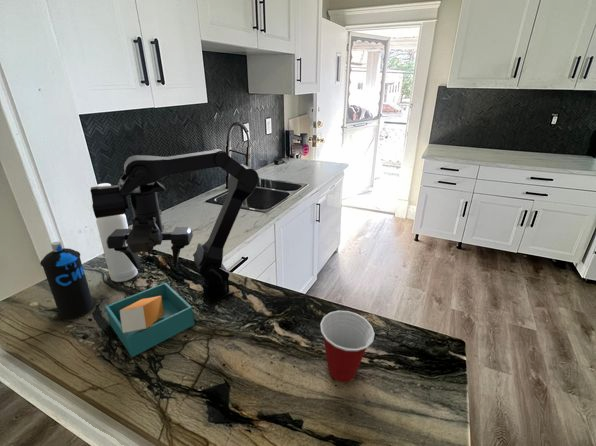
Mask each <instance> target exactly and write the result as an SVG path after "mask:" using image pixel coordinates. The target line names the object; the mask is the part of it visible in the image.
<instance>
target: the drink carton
mask: <svg viewBox="0 0 596 446" xmlns="http://www.w3.org/2000/svg"><path fill="white" fill-rule="evenodd" d="M163 315H164V309H163V303H162V296H156V297H151V298H145V299H141V300H139V301H137V302H135V303H133V304H131V305H129V306H127V307H125V308H123V309H121V310H120V317H121V324H122V330H123V333H126V332H131V331H136V330H141V329H146V328H148V327H149V326H150V325H152V324H153V323H154V322H155V321H157V320H158V319H159V318H161V317H162V316H163Z"/></svg>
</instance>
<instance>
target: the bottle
mask: <svg viewBox="0 0 596 446" xmlns="http://www.w3.org/2000/svg"><path fill="white" fill-rule="evenodd" d="M106 186H112V184H111V183H108V182H103V183H98V184H96V186H95V187H106ZM95 219H96V222H95V223H96V227H97V231H98V234H99V238H100V243H101V246H102V250H103V254H104V258H105V262H106V266H107V270H108V275H109V277H110V280H111V282H112V281H113V282H116V283H122V282H127V281H129V280H131V279H134V278H135V277H136V276H137V275H138V273H139V271H138V269H136V267H135V266H134V265H133V263H132V262H131V261H130V259H129V258H128V257H127V256H126V255H125V254H124V253H123V252H120V251H115V250H114V249H109V248H108V246H107V242H106V241H107V238H108V237H109V236H110V235H111V234H112V233H113V232H114V231H115V230H116V229H129V224H128V220H127V216H126V214H125V213H124V214H122V215H115V216H109V217H102V218H96V217H95Z"/></svg>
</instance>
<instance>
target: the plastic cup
mask: <svg viewBox="0 0 596 446" xmlns="http://www.w3.org/2000/svg"><path fill="white" fill-rule="evenodd" d="M319 325H320V333H321V335H322V337H323V343H324V349H325V356H326V357H325V358H326V363H327V368H328V373H329V375H330V376H331V378H332V379H334V380H335V381H338V382H340V383H348V382H350V381H353V379H354V378H355V377H356V374H357V373H358V369H359V367H360V366H361V363H362V361H363V357H364V355H365V352H366V351H367V349H368V348H369V346H370V345H372V343H373V342H374V340H375V339H374V338H375V331H374V328H373V326H372V324H371V323H370V322H369V321H368V320H367V319H366V318H365V317H364V316H362V315H360V314H358V313H356V312H353V311H349V310H334V311H330V312H328V313H327V314H326V315H324V316H323V317H322V319H321V322H320V324H319Z"/></svg>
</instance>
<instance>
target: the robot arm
mask: <svg viewBox="0 0 596 446" xmlns="http://www.w3.org/2000/svg"><path fill="white" fill-rule="evenodd" d="M213 168H220V169H222V170H223V171H224V172H226V173H227V174H228V175H229V177H228V182H227V195H226V197H225V199H224V202H223V204H222V206H221V208H220V211H219V213H218V216H217V218H216V220H215V223H214V225H213V227H212V230H211V232H210V235H209V237H208V239H207V241H205V242H204V243H203V244H202V243H197V246H196V250H195V252H194V253H193V254H192V256H193V262H194V265H195V266H196V268H197V271H198V273H199V275H200V276H201V277H202V280H203V282H202V290H201V291H202V295H204V296H205V297H206V299H209V300H210V301H211V302H212V303H216V302H219V300H222V299H224V298H226V297H228V296H230V295H232V294H233V291H232V290H231V289H230V283H229V278H230V272H229V270H227V268H226V266H225V265H224V263H223V260H224V249H225V248H224V247H225V245H226V243H227V240H228V238H229V236H230V233H231V231H232V229H233V226H234V225H235V222H236V221H237V220H236V219H237V218H238V215H239V213H240V211H241V208H242V206H243V204H244V202H245V201H246V200H247V199H248V198H249V197H250V196H251V195H252V194H253V193H254V191H255V190H256V187H257V186H258V185H259V182H260V177H259V173H258V172H257V171H256V169H253V168H252V167H250V166H248V165H246V164H245V163H244V164H243V163H239V162H238V161H236V160H235V159H234V158H232V157H231V156H230V155H229V154H228V153H227V152H226V151H224V150H223V149H220V148H214V149H211V150H204V151H197V152H191V153H184V154H176V155H169V156H159V155H143V154H141V155H139V154H136V155H131V156H129V157H128V158H127V159H126V160H125V162H124V165H123V170H124V172H123V173H122V176H121V177H120V179H119V181H118V182H117V185H115V184H114V185H111V186H106V187H96V186H91V187H90V195H91V200H92V201H91V202H92V205H91V206H92V210H93V211H92V212H93V214H94V217H95V219H96V218H102V217H109V216H115V215H122V214H125V213H127V210H129V209H130V208H129V203H128V198H127V197H128V196H129V199H130V204H131V209H132V215H133V218H132V219H131V221H132V222H131V223H132V224H131V225H132V227H131V228H132V229H131V228H128V229H116V230H115V231H114V232H113V233H112V234H111V235H110V236H109V237H108V238H107V241H106V242H107V246H108V248H109V249H114V250H115V251H120V252H123V253H124V254H125V255H126V256H127V257H128V258H129V259H130V261H131V262H132V263H133V265H134V266H135V267H136V269H137V270H138V269H140V267H141V265H140V256H139V253H150V252H152V251H153V250H154V247H156V246H161V245H162V242H163V241H170V244H171V246H170V249H171V251H172V264H173V268H177V266H178V262H179V259H180V258H179V257H180V253H181V250H182V249H184V248H186V247H187V246H189V245H190V244H191V241H192V239H193V237H194V233H193V229H192V227H190V226H176V227H175V228H174V229H173V231H168V232H167V231H165V232H164V230H165V225H164V224H163V222H162V213H163V212H162V209H161V208H160V205H159V198H158V193H159V192H165V191H166V188H165V186H164V185H163V184H162V183H160V182H158V181H160V180H163V179H164V178H166V177H169V176H173V175H177V174H184V173H191V172H195V171H201V170H207V169H213Z"/></svg>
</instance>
